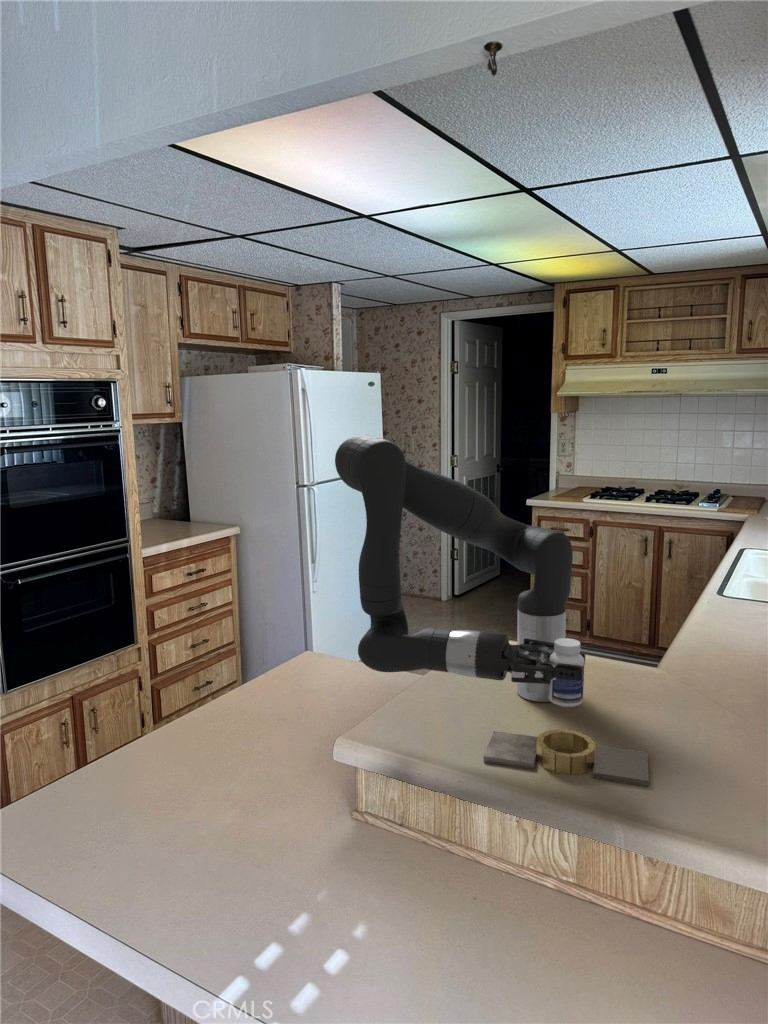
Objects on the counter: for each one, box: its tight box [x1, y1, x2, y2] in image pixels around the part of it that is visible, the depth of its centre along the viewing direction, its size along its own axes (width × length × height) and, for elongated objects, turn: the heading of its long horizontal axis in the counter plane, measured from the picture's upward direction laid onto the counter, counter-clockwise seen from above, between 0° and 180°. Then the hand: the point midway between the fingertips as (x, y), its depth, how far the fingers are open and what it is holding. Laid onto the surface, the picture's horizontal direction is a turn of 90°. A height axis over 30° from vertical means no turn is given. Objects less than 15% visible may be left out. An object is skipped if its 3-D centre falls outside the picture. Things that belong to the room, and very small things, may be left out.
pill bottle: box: [548, 637, 585, 708], centre depth 110 cm, size 5×5×10 cm
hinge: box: [483, 728, 650, 788], centre depth 112 cm, size 9×25×3 cm, turn 71°
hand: (583, 666), depth 109 cm, fingers closed on pill bottle, 5 cm apart
